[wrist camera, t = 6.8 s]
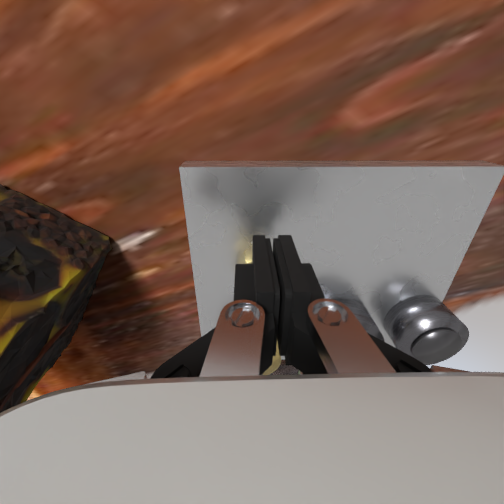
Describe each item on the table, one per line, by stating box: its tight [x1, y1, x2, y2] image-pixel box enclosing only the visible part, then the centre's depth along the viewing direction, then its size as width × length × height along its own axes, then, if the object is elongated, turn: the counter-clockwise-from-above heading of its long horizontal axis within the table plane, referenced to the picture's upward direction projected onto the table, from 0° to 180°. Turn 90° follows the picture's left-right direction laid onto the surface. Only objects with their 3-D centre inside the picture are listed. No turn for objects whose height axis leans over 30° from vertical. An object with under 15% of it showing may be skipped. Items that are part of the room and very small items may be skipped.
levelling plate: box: [179, 161, 504, 375], centre depth 15 cm, size 16×14×4 cm
